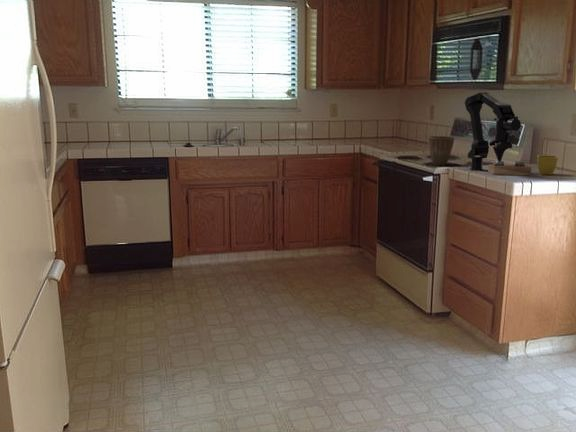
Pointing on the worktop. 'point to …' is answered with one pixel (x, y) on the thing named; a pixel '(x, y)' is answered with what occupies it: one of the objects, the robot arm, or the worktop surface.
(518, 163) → the knob
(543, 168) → the flower pot
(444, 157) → the plant pot
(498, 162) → the knob
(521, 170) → the mount
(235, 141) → the worktop surface
